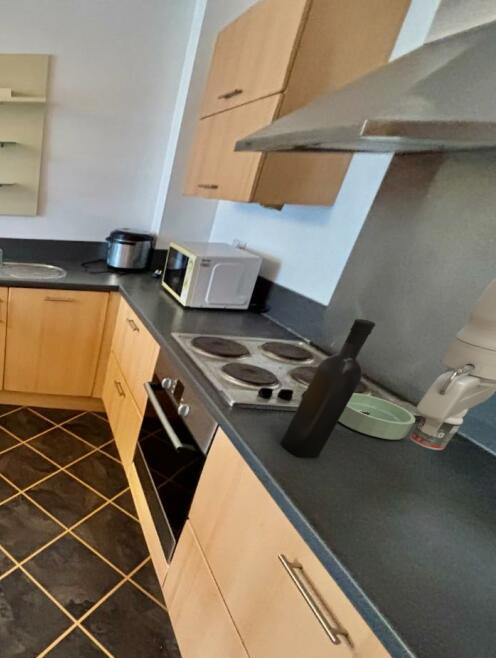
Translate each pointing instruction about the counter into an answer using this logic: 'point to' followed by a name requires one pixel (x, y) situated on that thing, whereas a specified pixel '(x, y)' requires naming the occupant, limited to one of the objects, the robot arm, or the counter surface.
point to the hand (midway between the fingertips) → (435, 429)
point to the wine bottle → (327, 395)
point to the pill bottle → (443, 435)
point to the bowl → (377, 417)
